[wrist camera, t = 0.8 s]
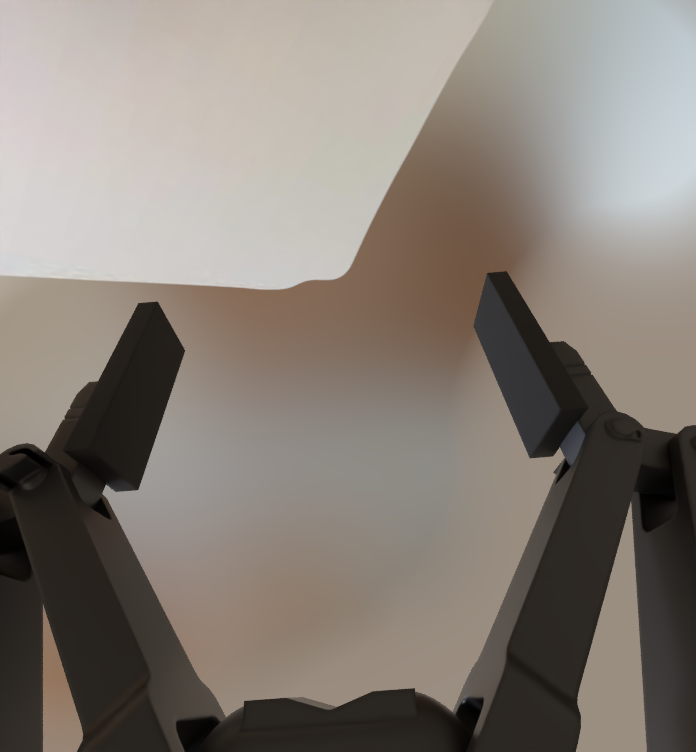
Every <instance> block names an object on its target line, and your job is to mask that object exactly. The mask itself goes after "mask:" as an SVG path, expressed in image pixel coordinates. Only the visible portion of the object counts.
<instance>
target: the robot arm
mask: <svg viewBox="0 0 696 752" xmlns="http://www.w3.org/2000/svg"><path fill="white" fill-rule="evenodd" d="M474 328H475V331H476V333H477V335H478V338H479V340H480V342H481V345H482V347H483V349H484V352H485V354H486V356H487V359H488V361H489V363H490V366H491V368H492V371H493V373H494V375H495V378H496V380H497V382H498V385H499V387H500V389H501V392H502V394H503V396H504V399H505V401H506V403H507V406H508V408H509V410H510V413H511V415H512V417H513V420H514V422H515V425H516V427H517V429H518V431H519V434H520V436H521V439H522V441H523V443H524V446H525V448H526V450H527V453H528V455H529V457H530V458H539V457H550V456H554V454H555V453H556V451H557V450H558V449H559V447H560V448H561V450H562V452H563V454H564V456H565V458H564V460H563V461H562V462H561V463H560V465H559V466H558V467H557V468H556V470H555V471H554V473H555V474H556V477H555V479H554V481H553V484H552V486H551V488H550V491H549V493H548V496H547V498H546V500H545V503H544V505H543V507H542V510H541V512H540V515H539V517H538V520H537V522H536V524H535V527H534V529H533V531H532V534H531V536H530V538H529V541H528V543H527V546H526V548H525V550H524V553H523V555H522V558H521V560H520V562H519V565H518V567H517V569H516V572H515V574H514V577H513V579H512V581H511V584H510V586H509V588H508V591H507V593H506V596H505V598H504V600H503V603H502V605H501V607H500V610H499V612H498V615H497V617H496V619H495V622H494V624H493V626H492V629H491V631H490V634H489V636H488V638H487V641H486V643H485V646H484V648H483V650H482V653H481V655H480V657H479V659H478V661H477V662H476V664H475V665H474V667H473V668H472V670H471V672H470V674H469V676H468V678H467V680H466V682H465V684H464V687H463V689H462V691H461V694H460V696H459V698H458V701H457V703H456V705H455V708H454V710H453V712H452V711H450V710H449V709H448V708H447V707H446V706H444V705H443V704H441V703H440V702H438V701H436V700H435V699H433V698H431V697H429V696H427V695H425V694H422V693H418V692H415V689H414V688H413V689H399V690H386V691H373V692H371V693H368V694H366V695H364V696H362V697H359V698H357V699H355V700H352V701H350V702H348V703H346V704H343V705H341V706H339V707H335V706H332V705H328V704H324V703H321V702H317V701H314V700H310V699H307V698H303V697H301V698H300V697H299V698H279V699H265V700H253V701H244V707H242V708H240V709H238V710H236V711H235V712H233V713H231V714H230V715H229V716H228V717H225V715H224V713H223V711H222V709H221V707H220V705H219V703H218V701H217V700H216V698H215V696H214V695H213V693H212V692H211V691H210V689H209V688H208V687H207V686H206V685H205V684H204V683H203V682H202V681H201V680H200V679H199V677H198V676H197V674H196V672H195V671H194V669H193V667H192V665H191V663H190V661H189V659H188V657H187V655H186V653H185V651H184V649H183V647H182V645H181V643H180V641H179V639H178V637H177V635H176V633H175V631H174V630H173V627H172V625H171V624H170V622H169V620H168V618H167V616H166V614H165V612H164V610H163V608H162V606H161V604H160V602H159V600H158V598H157V596H156V594H155V592H154V590H153V588H152V586H151V584H150V582H149V580H148V578H147V576H146V575H145V572H144V570H143V569H142V567H141V565H140V563H139V561H138V559H137V557H136V555H135V553H134V551H133V549H132V547H131V545H130V543H129V541H128V539H127V537H126V535H125V533H124V531H123V530H122V527H121V525H120V523H119V522H118V519H117V517H116V516H115V514H114V512H113V510H112V508H111V506H110V504H109V502H108V500H107V498H106V497H105V496H104V495H103V494H102V492H103V490H104V488H105V485H107V486H109V487H110V488H111V489H113V490H114V491H115V492H119V491H132V490H138V489H139V486H140V483H141V480H142V477H143V474H144V471H145V468H146V465H147V462H148V459H149V456H150V453H151V451H152V447H153V445H154V441H155V438H156V435H157V433H158V430H159V426H160V424H161V421H162V418H163V415H164V411H165V409H166V406H167V403H168V400H169V397H170V394H171V391H172V388H173V385H174V382H175V379H176V376H177V373H178V370H179V367H180V364H181V361H182V358H183V355H184V352H185V350H184V348H183V346H182V344H181V343H180V341H179V339H178V337H177V335H176V334H175V332H174V330H173V328H172V326H171V325H170V323H169V321H168V319H167V318H166V316H165V314H164V312H163V310H162V309H161V307H160V305H159V303H158V302H148V303H138V305H137V307H136V309H135V311H134V313H133V315H132V317H131V319H130V321H129V323H128V325H127V327H126V329H125V330H124V332H123V334H122V336H121V338H120V340H119V342H118V344H117V346H116V348H115V350H114V352H113V354H112V356H111V357H110V359H109V361H108V363H107V365H106V367H105V369H104V371H103V373H102V375H101V377H100V379H99V381H97V382H89V383H88V384H87V385H86V386H85V387H84V388H83V389H82V390H81V391H80V392H79V393H78V394H77V395H76V397H75V399H74V401H73V402H72V404H71V406H70V409H69V410H68V411H67V414H66V415H65V420H63V421H62V422H61V424H60V426H59V428H58V430H57V431H56V433H55V435H54V437H53V439H52V441H51V442H50V444H49V446H48V448H47V450H46V451H45V452H43V451H42V450H41V449H39V448H38V447H36V446H35V445H33V444H28V443H26V444H20V445H16V446H14V447H12V448H9V449H7V450H6V451H4V452H3V453H1V454H0V752H43V605H44V608H45V611H46V614H47V617H48V620H49V624H50V627H51V630H52V633H53V637H54V640H55V643H56V646H57V649H58V652H59V655H60V659H61V662H62V665H63V668H64V672H65V674H66V678H67V681H68V684H69V687H70V691H71V694H72V697H73V700H74V703H75V706H76V710H77V713H78V716H79V719H80V722H81V726H82V730H83V741H82V743H81V745H80V747H79V749H78V751H77V752H576V748H577V744H578V739H579V734H580V729H581V715H580V712H579V708H578V705H577V697H578V692H579V687H580V684H581V680H582V677H583V673H584V669H585V666H586V662H587V658H588V655H589V651H590V648H591V644H592V640H593V637H594V632H595V629H596V626H597V622H598V618H599V614H600V611H601V607H602V604H603V600H604V597H605V593H606V589H607V585H608V582H609V578H610V574H611V571H612V567H613V564H614V560H615V557H616V553H617V549H618V546H619V542H620V538H621V534H622V531H623V527H624V524H625V520H626V517H627V513H628V509H629V506H630V502H631V504H632V519H633V535H634V551H635V567H636V582H637V598H638V614H639V631H640V646H641V662H642V677H643V693H644V710H645V726H646V742H647V752H696V425H692V426H687V427H684V428H683V429H682V430H681V431H680V432H679V433H678V434H674V433H668V432H663V431H658V430H652V429H647V428H644V427H643V426H642V425H641V424H640V423H639V422H638V421H636V420H635V419H634V418H632V417H630V416H628V415H627V414H624V413H620V412H617V411H616V409H615V408H614V407H613V405H612V404H611V402H610V401H609V399H608V398H607V396H606V394H605V393H604V392H603V390H602V388H601V387H600V386H599V384H598V382H597V381H596V379H595V378H594V376H593V375H591V372H590V370H589V369H588V367H587V366H586V365H584V361H583V360H582V358H581V357H580V355H579V354H578V352H577V351H576V350H575V349H573V348H572V347H571V346H569V345H568V344H567V343H566V342H564V341H561V342H549V341H548V339H547V337H546V336H545V334H544V332H543V331H542V329H541V327H540V326H539V324H538V322H537V321H536V319H535V317H534V316H533V314H532V313H531V311H530V309H529V308H528V306H527V304H526V303H525V301H524V299H523V298H522V296H521V294H520V293H519V291H518V290H517V288H516V286H515V284H514V283H513V281H512V280H511V278H510V276H509V275H508V273H507V272H506V271H505V272H494V273H487V276H486V280H485V284H484V287H483V291H482V295H481V299H480V303H479V307H478V311H477V314H476V318H475V322H474Z"/></svg>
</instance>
